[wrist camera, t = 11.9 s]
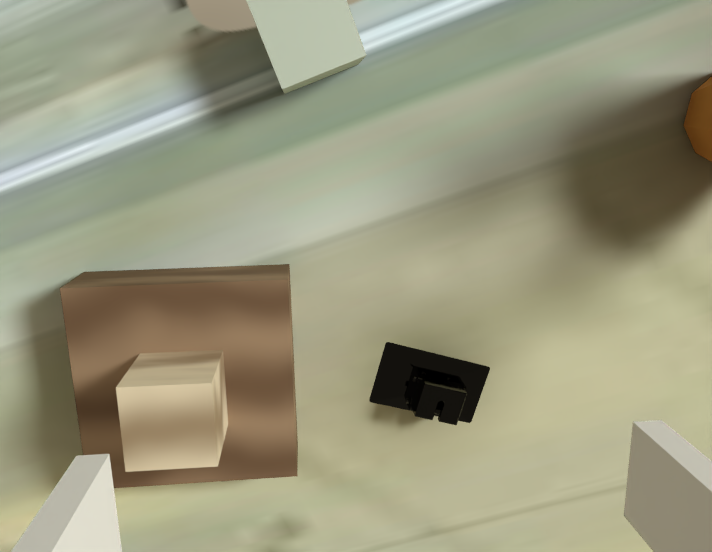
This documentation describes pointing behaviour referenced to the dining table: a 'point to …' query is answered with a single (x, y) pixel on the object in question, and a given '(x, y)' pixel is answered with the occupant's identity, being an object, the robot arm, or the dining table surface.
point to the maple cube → (173, 410)
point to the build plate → (428, 384)
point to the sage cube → (307, 39)
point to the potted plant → (700, 120)
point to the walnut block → (183, 334)
